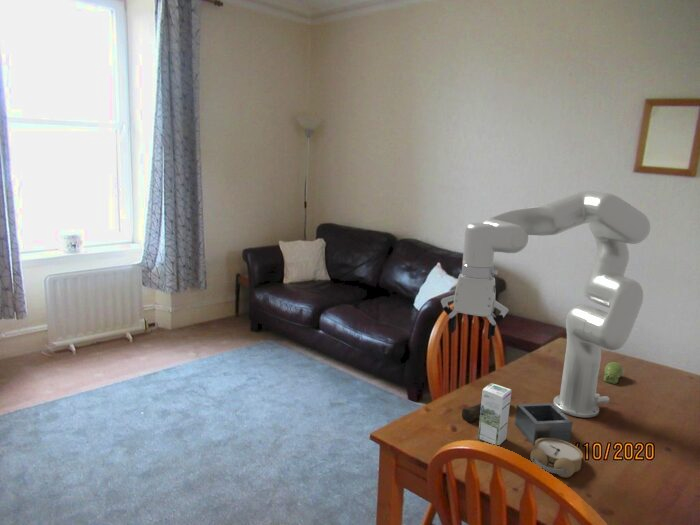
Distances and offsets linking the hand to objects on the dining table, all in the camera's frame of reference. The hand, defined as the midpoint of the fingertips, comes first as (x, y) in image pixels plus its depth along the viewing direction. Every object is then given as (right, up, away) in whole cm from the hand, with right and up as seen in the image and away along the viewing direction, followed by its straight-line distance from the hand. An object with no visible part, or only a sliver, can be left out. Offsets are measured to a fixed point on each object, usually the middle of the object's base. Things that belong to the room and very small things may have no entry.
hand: (471, 334), depth 137 cm
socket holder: (+20, -27, +5) cm, 34 cm away
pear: (+58, -21, +41) cm, 74 cm away
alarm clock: (+18, -31, -9) cm, 37 cm away
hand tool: (+8, -25, +15) cm, 30 cm away
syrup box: (+6, -28, +1) cm, 29 cm away
